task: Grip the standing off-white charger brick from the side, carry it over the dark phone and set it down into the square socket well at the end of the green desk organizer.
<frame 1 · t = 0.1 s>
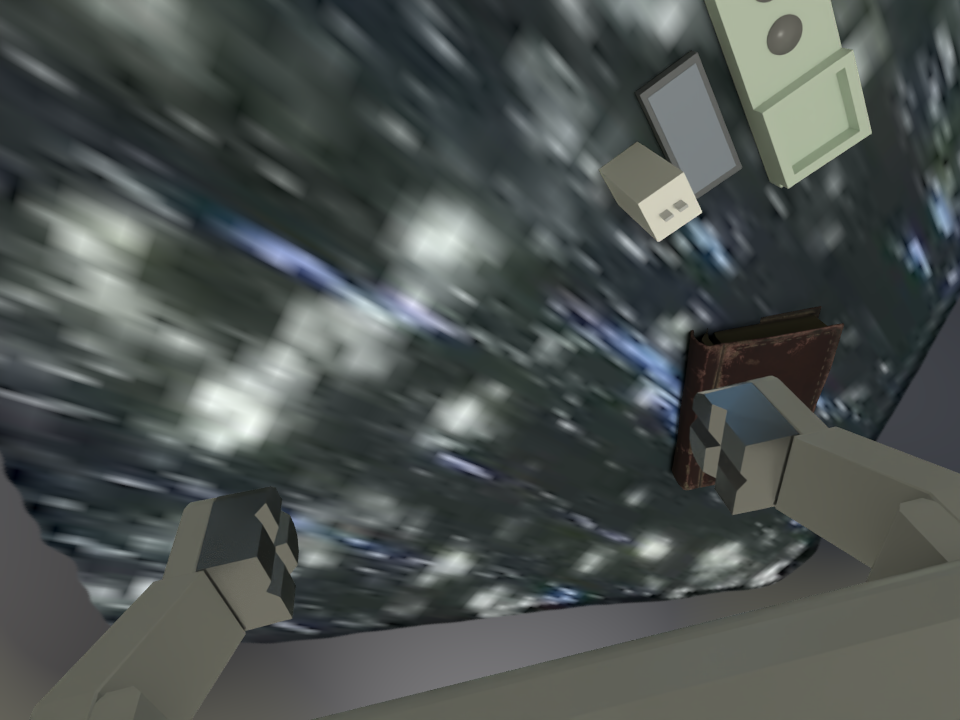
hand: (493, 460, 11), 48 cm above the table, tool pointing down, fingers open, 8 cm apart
green desk organizer: (779, 61, 56), on the table
charger: (627, 173, 59), on the table
phone: (688, 130, 58), on the table
diary: (738, 392, 81), on the table
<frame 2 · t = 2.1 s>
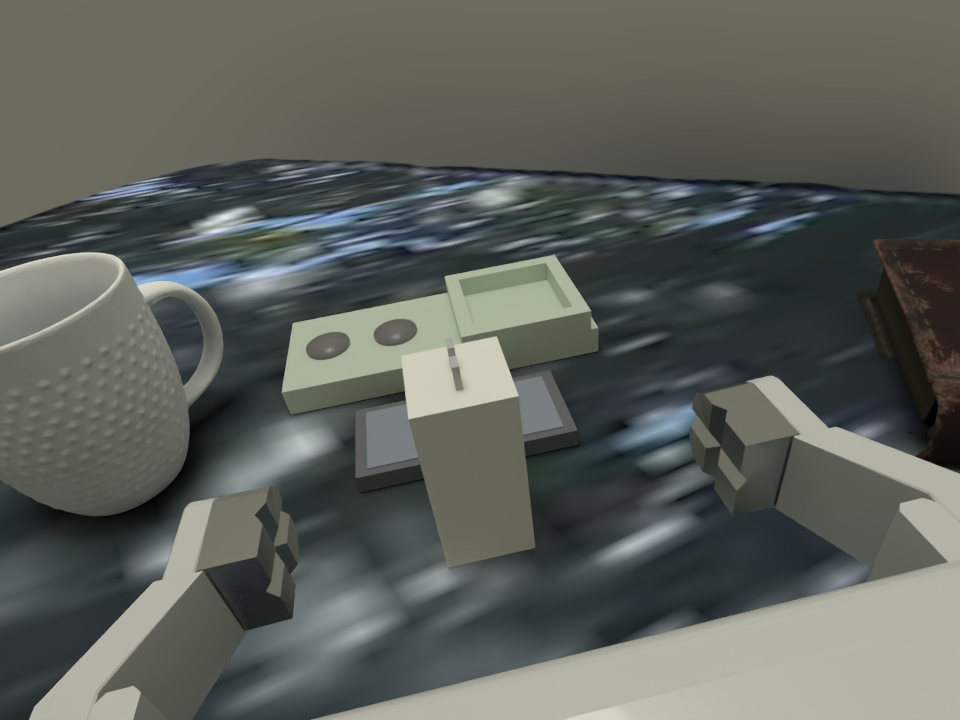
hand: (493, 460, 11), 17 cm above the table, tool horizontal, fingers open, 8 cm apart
green desk organizer: (439, 347, 45), on the table
charger: (483, 522, 31), on the table
phone: (463, 434, 37), on the table
mug: (148, 466, 38), on the table
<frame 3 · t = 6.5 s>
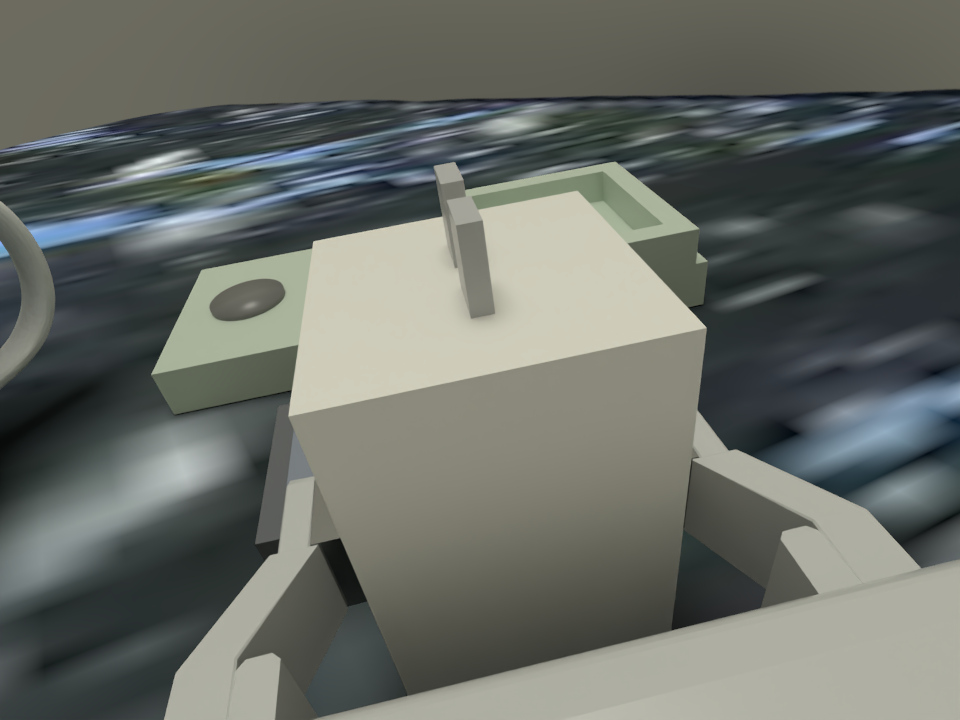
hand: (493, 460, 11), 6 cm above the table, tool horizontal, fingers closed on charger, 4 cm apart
green desk organizer: (434, 304, 28), on the table
charger: (527, 651, 14), on the table, touching gripper
phone: (476, 448, 19), on the table
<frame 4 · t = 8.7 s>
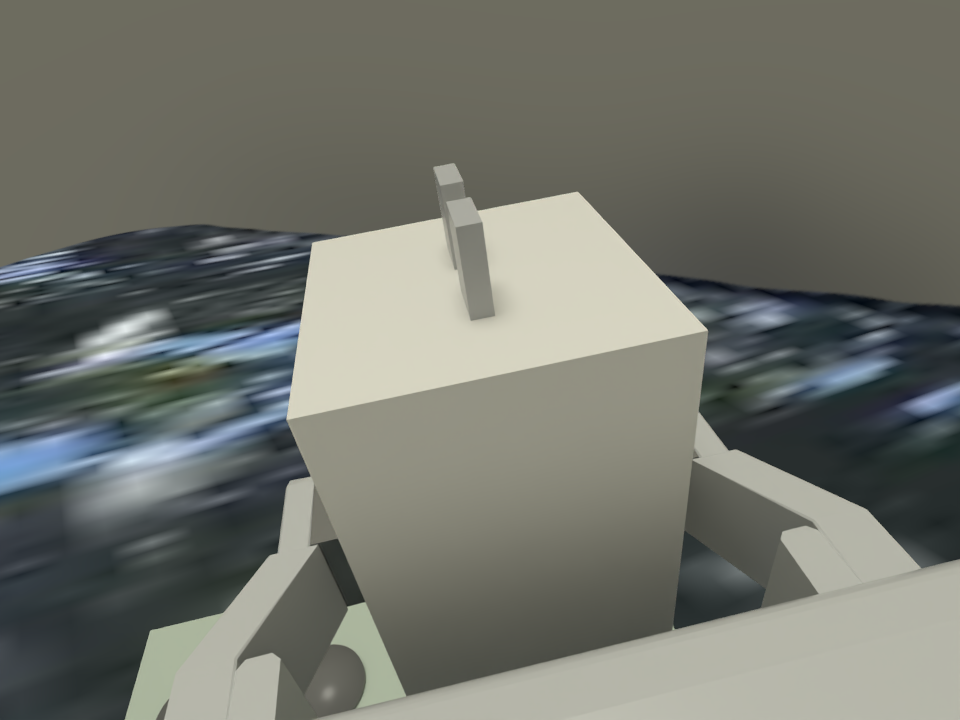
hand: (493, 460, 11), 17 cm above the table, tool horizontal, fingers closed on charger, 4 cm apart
green desk organizer: (410, 691, 25), on the table
charger: (528, 653, 14), point 12 cm above the table, touching gripper
when the fingers open (9 cm above the table, at t = 11.3 s): charger drops 2 cm, resting on green desk organizer.
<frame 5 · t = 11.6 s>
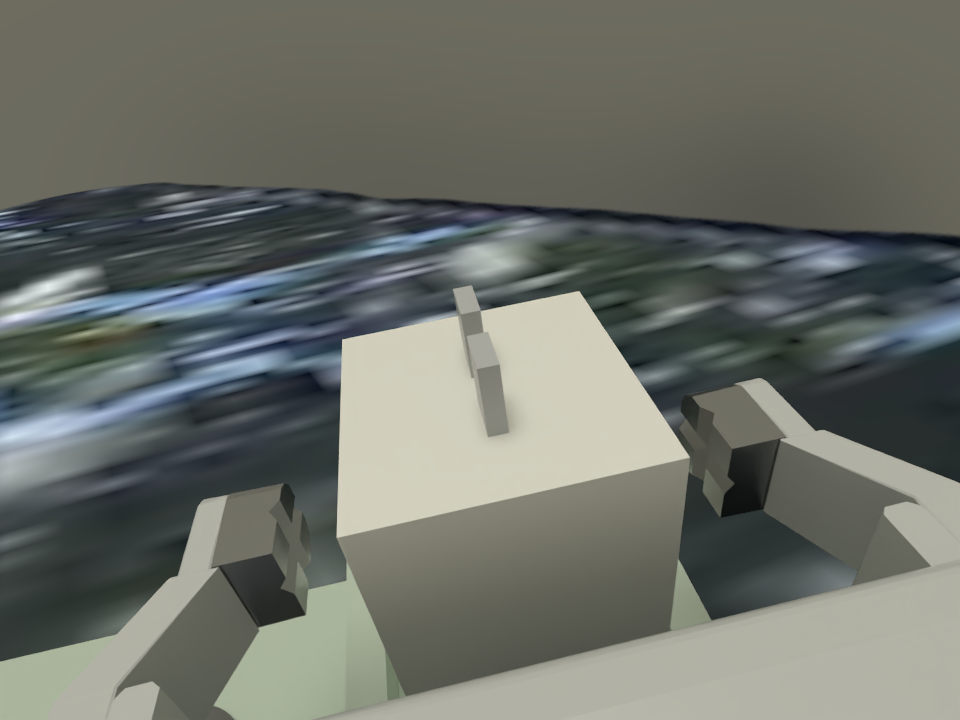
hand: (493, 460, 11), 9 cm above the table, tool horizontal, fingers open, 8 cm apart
charger: (532, 691, 15), point 2 cm above the table, touching green desk organizer
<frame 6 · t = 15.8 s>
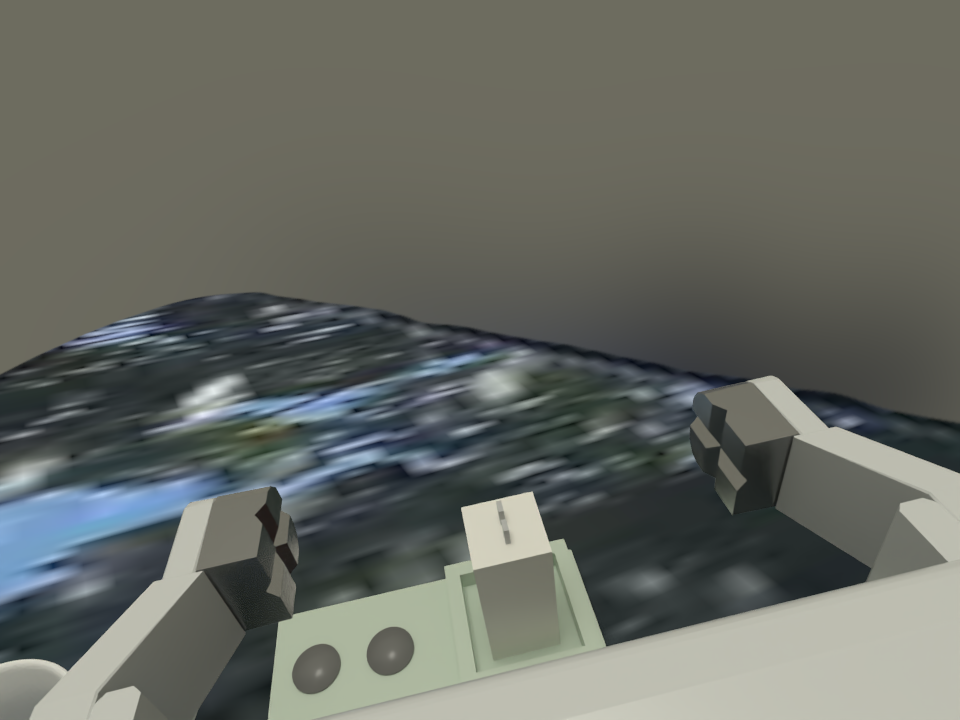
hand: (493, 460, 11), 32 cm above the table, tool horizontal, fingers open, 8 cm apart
green desk organizer: (439, 655, 41), on the table
charger: (519, 620, 40), point 2 cm above the table, touching green desk organizer
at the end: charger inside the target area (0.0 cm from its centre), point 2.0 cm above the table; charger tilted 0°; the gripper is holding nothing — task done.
